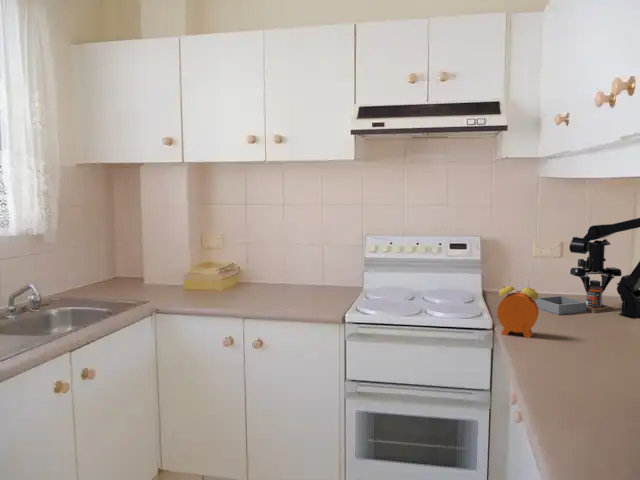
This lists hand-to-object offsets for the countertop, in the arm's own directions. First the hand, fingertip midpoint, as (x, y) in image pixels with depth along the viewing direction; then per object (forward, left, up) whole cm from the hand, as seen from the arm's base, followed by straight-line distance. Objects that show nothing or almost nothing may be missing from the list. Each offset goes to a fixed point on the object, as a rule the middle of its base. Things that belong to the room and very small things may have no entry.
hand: (594, 292), depth 228 cm
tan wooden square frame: (0, 0, -7) cm, 7 cm away
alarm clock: (-19, +54, -7) cm, 58 cm away
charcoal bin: (+4, +14, -7) cm, 16 cm away
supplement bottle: (0, 0, -7) cm, 7 cm away
